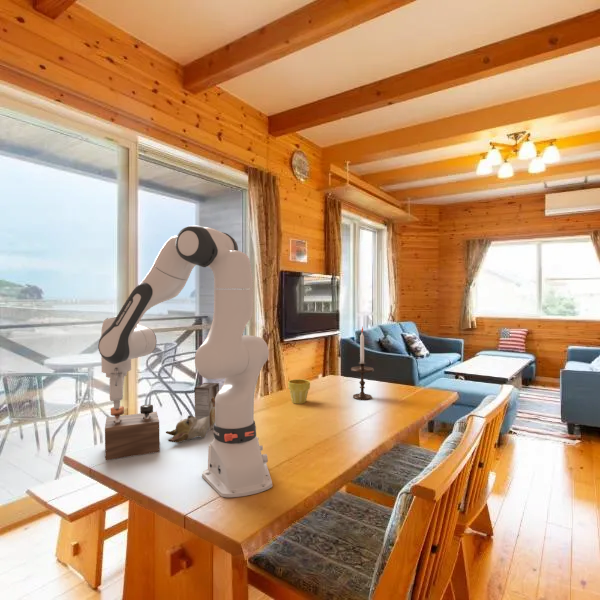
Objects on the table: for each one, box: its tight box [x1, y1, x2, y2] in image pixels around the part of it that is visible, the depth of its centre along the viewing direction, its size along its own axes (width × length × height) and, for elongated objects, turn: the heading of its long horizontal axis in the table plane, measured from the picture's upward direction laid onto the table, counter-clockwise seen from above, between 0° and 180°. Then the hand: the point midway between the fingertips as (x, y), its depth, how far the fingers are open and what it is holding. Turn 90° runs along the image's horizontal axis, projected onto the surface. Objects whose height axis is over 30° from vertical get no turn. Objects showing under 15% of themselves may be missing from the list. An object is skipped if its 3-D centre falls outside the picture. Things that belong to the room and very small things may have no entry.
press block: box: [104, 411, 161, 461], centre depth 134 cm, size 12×16×10 cm
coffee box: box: [193, 382, 220, 431], centre depth 157 cm, size 9×6×16 cm
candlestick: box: [350, 326, 375, 401], centre depth 197 cm, size 11×11×35 cm
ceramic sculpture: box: [165, 415, 209, 444], centre depth 144 cm, size 11×9×15 cm
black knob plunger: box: [139, 404, 154, 419], centre depth 136 cm, size 4×4×13 cm
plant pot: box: [287, 378, 311, 405], centre depth 191 cm, size 10×10×10 cm
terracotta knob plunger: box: [110, 405, 125, 423], centre depth 132 cm, size 4×4×13 cm
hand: (117, 407), depth 132 cm, fingers closed, pressing on terracotta knob plunger
